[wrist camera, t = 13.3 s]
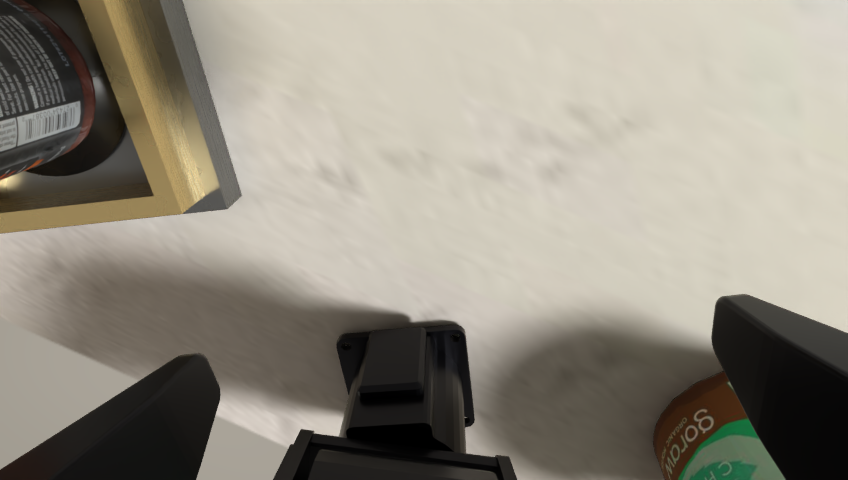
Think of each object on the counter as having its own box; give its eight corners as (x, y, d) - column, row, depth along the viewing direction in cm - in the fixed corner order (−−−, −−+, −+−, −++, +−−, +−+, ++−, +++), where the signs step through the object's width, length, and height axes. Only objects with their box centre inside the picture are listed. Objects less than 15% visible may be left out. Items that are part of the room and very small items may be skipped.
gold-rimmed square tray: (241, 195, 21) (205, 228, 18) (-4, 222, 22) (-80, 258, 19) (140, -135, 16) (65, -170, 13) (-172, -80, 17) (-313, -100, 14)
